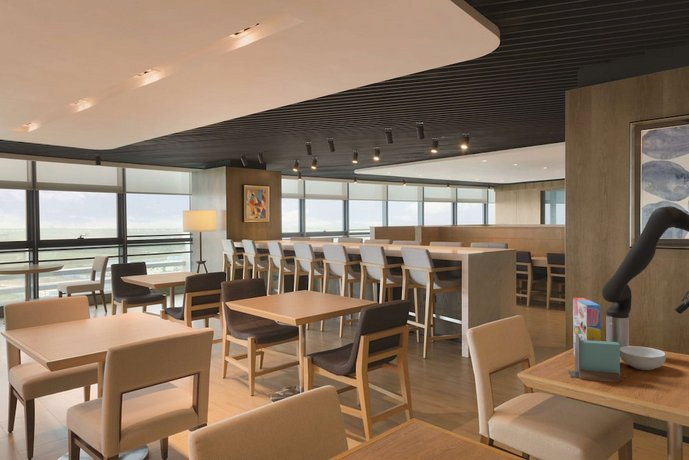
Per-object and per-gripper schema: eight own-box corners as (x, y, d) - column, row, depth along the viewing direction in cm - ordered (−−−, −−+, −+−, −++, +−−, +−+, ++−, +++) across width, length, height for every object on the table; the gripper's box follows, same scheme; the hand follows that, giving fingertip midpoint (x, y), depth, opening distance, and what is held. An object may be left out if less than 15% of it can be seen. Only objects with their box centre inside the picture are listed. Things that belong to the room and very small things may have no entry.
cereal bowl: (618, 359, 207) (618, 343, 207) (662, 364, 199) (662, 348, 199) (620, 370, 192) (620, 353, 192) (668, 376, 184) (668, 358, 184)
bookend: (568, 371, 191) (567, 333, 191) (577, 372, 190) (577, 333, 190) (570, 377, 184) (570, 337, 184) (580, 377, 183) (580, 338, 183)
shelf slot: (575, 371, 192) (575, 342, 191) (612, 374, 187) (612, 344, 187) (579, 378, 182) (579, 348, 182) (619, 382, 178) (619, 351, 178)
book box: (578, 373, 188) (578, 339, 188) (617, 376, 184) (617, 342, 184) (580, 376, 185) (580, 342, 184) (619, 380, 180) (619, 344, 180)
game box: (601, 369, 193) (600, 305, 193) (587, 369, 194) (586, 305, 194) (585, 355, 213) (585, 297, 213) (572, 355, 215) (572, 297, 214)
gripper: (699, 272, 182) (663, 301, 186) (714, 276, 169) (675, 307, 173) (715, 286, 180) (678, 315, 184) (732, 291, 168) (692, 322, 172)
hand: (677, 311), depth 179 cm, fingers closed
